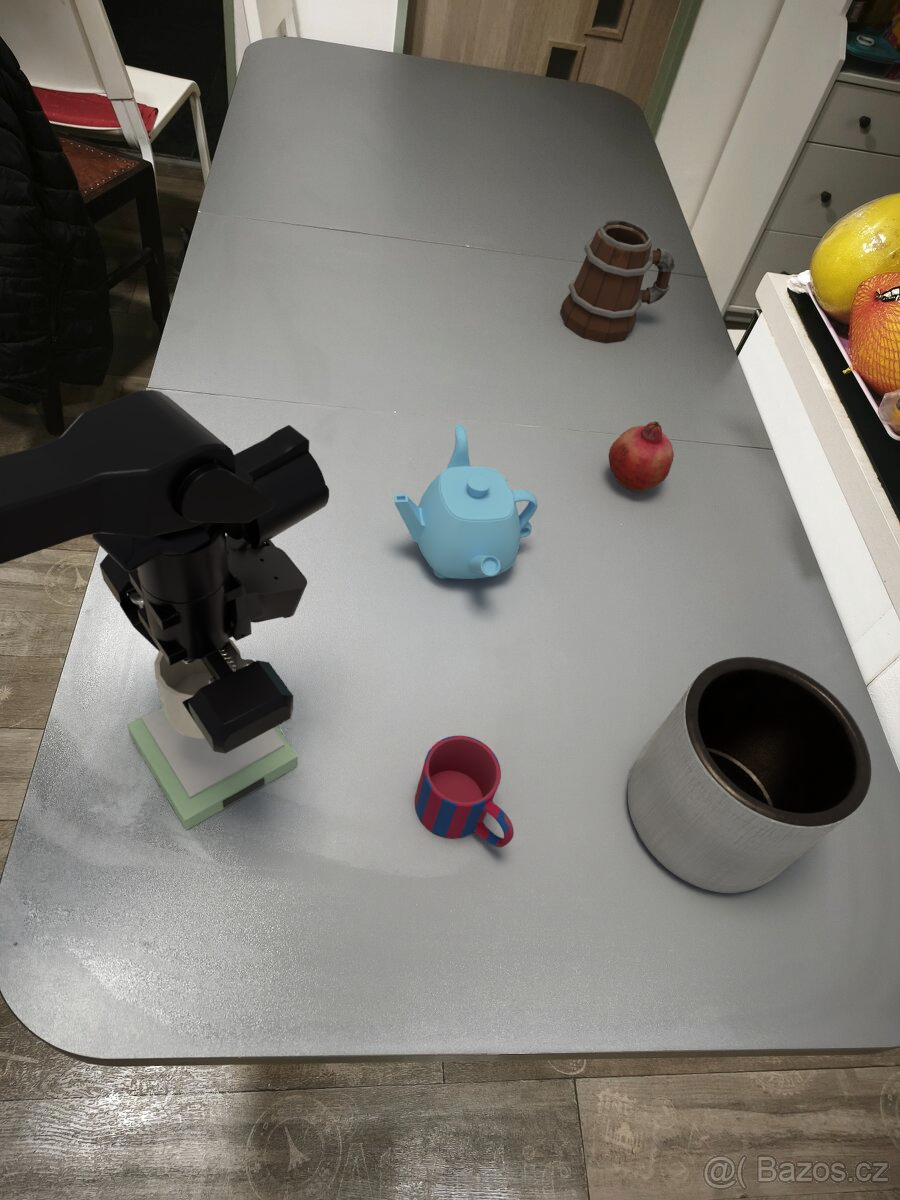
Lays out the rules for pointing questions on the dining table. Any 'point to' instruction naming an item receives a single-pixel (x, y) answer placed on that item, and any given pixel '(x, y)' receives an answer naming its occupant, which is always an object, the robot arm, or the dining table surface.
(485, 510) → the teapot
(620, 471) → the fruit
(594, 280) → the mug
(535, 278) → the dining table surface
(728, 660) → the planter
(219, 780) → the scale
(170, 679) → the ramekin
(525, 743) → the dining table surface
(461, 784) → the cup
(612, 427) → the dining table surface
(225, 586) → the robot arm
